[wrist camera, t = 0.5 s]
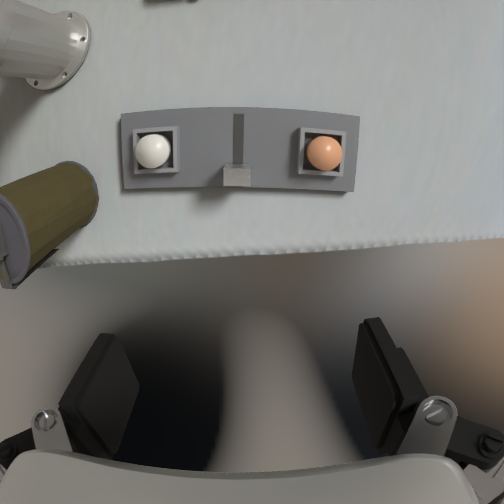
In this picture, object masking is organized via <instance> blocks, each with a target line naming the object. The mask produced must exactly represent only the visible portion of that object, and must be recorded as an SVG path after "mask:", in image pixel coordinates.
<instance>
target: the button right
mask: <svg viewBox="0 0 504 504" xmlns="http://www.w3.org/2000/svg"><path fill="white" fill-rule="evenodd" d="M306 156H307V159H308V161H309V162H310V163H311V164H312V165H313V166H315V167H316V168H318V169H320V170H324V171H327V170H332V169H334V168H335V167H337V166H338V165H339V163H340V162H341V159H342V148H341V146H340V144H339V143H338V142H337V141H336V140H335V139H333V138H331V137H327V136H317V137H315V138H313V139H312V140H311V141H310V142H309V143H308V145H307V148H306Z"/></svg>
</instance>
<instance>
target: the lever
mask: <svg viewBox="0 0 504 504" xmlns="http://www.w3.org/2000/svg"><path fill="white" fill-rule="evenodd" d="M223 186H251V164H225V166H224V178H223Z"/></svg>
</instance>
